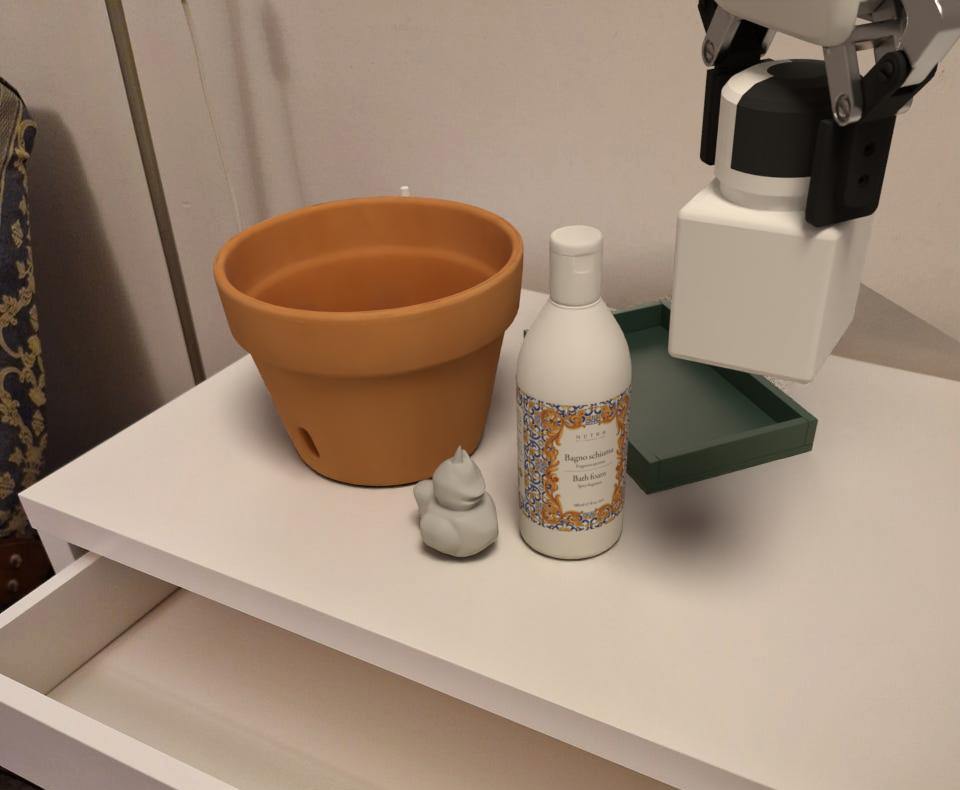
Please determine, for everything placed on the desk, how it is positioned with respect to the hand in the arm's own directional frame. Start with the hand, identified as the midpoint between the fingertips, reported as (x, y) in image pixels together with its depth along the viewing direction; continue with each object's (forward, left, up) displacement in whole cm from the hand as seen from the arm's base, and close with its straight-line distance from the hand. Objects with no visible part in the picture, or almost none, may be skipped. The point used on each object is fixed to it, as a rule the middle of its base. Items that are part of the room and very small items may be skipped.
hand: (782, 184), depth 45 cm
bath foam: (+5, -11, -25) cm, 28 cm away
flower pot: (+12, -28, -25) cm, 40 cm away
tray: (-9, -24, -25) cm, 36 cm away
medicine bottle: (0, 0, -8) cm, 8 cm away
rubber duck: (+12, -13, -25) cm, 31 cm away
